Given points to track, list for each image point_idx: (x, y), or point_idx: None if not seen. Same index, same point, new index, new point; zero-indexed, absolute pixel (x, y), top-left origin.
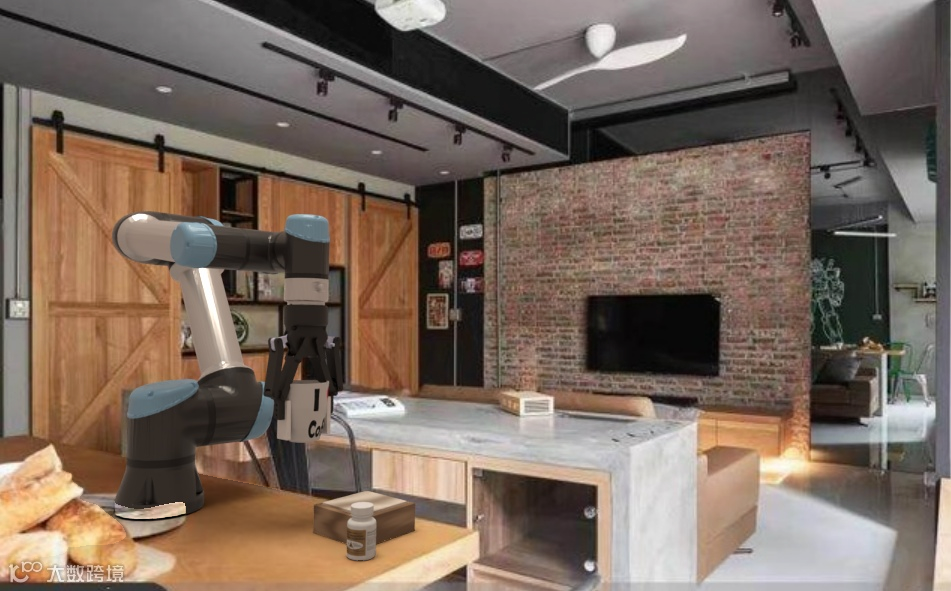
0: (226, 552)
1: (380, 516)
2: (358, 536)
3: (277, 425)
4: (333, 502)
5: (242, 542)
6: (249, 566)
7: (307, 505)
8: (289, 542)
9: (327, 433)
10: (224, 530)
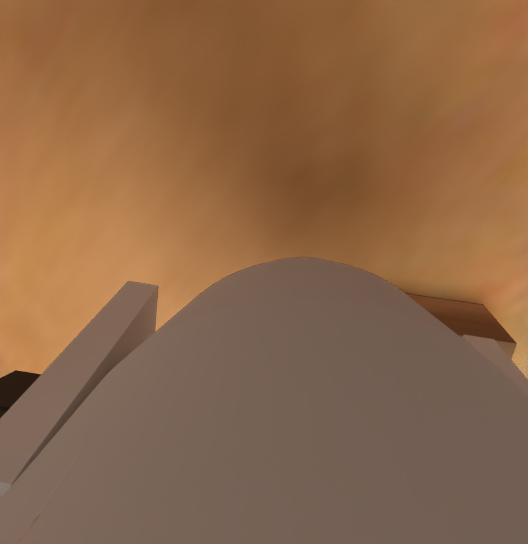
0: (36, 197)
1: None
2: None
3: (92, 321)
4: None
5: (106, 171)
6: (27, 312)
7: (507, 44)
8: (186, 276)
9: None
10: (134, 26)
